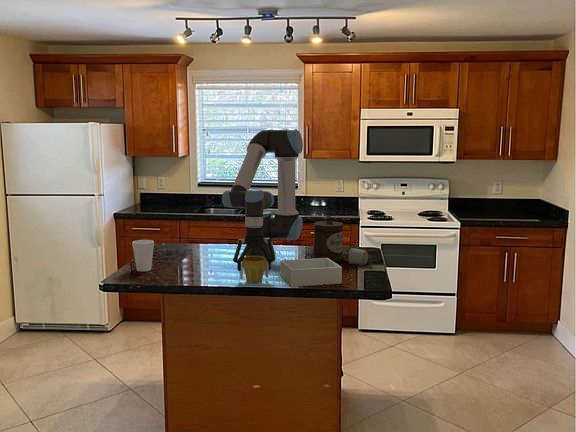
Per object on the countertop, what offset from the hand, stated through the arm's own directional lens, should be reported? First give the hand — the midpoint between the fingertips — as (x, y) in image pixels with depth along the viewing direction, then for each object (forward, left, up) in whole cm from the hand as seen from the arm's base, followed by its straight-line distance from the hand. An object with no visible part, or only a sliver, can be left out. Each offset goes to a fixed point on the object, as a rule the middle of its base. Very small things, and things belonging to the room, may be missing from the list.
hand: (254, 277), depth 230 cm
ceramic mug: (-20, +56, -2) cm, 60 cm away
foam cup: (-30, -45, -2) cm, 54 cm away
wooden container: (-34, +45, -2) cm, 56 cm away
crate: (+3, +24, -1) cm, 24 cm away
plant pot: (0, 0, -2) cm, 2 cm away
